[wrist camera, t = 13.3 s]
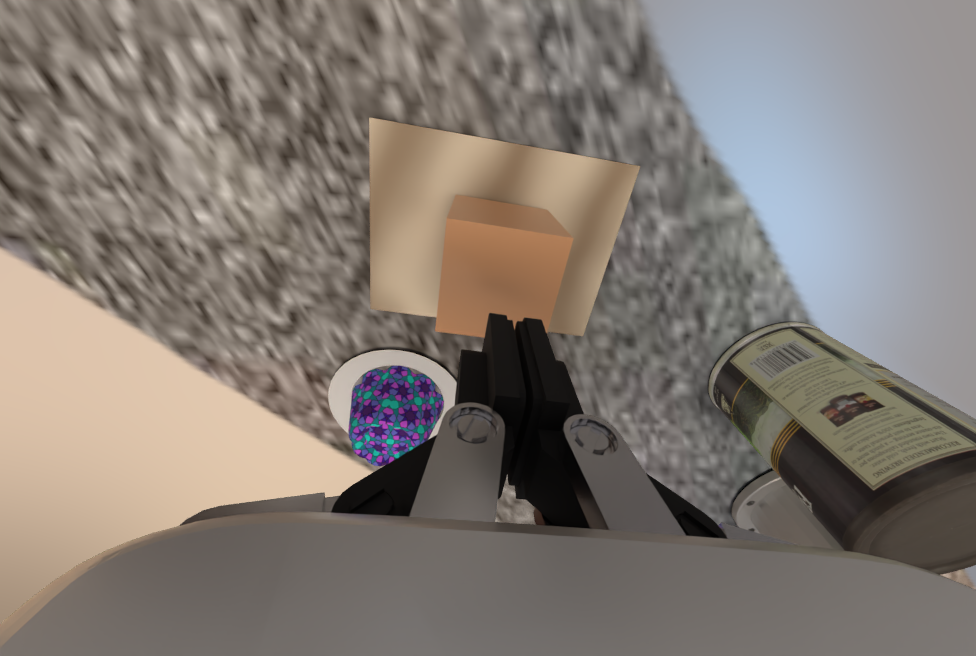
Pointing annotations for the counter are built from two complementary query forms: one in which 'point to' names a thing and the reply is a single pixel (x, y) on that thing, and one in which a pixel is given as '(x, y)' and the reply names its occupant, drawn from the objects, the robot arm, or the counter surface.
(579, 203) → the post stand
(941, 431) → the coffee can
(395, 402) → the pudding
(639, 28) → the counter surface
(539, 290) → the orange block
